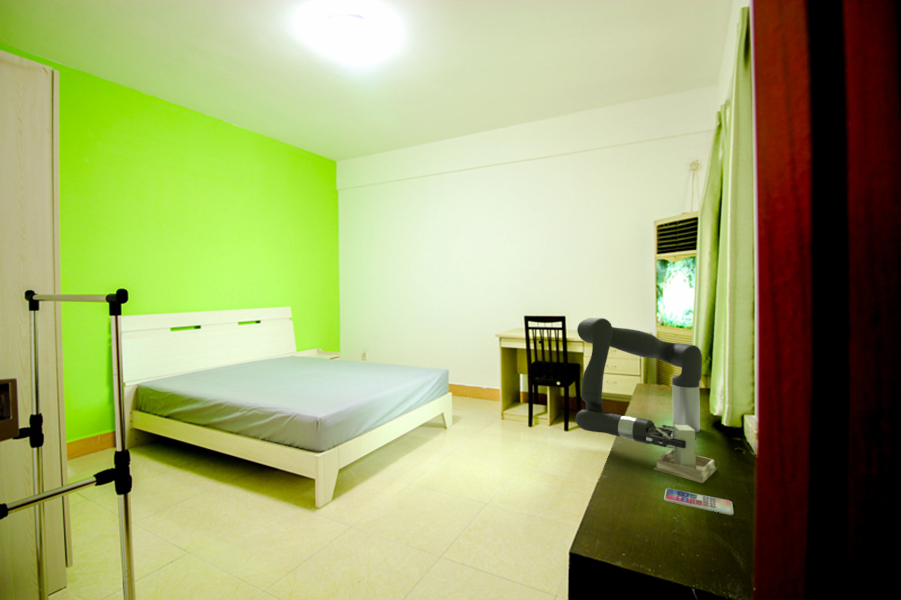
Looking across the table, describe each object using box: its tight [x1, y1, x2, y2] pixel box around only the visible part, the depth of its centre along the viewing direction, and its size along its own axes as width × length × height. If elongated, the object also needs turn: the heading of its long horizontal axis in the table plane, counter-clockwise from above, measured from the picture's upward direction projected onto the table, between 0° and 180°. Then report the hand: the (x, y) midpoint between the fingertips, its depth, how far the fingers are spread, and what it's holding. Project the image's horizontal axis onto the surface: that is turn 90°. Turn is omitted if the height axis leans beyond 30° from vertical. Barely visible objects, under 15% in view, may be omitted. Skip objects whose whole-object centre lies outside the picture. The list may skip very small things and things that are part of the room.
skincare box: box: [672, 424, 697, 469], centre depth 127 cm, size 6×4×12 cm
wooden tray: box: [653, 449, 718, 484], centre depth 127 cm, size 13×13×3 cm
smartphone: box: [663, 487, 735, 516], centre depth 107 cm, size 7×1×15 cm
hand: (690, 441), depth 126 cm, fingers open, 8 cm apart
